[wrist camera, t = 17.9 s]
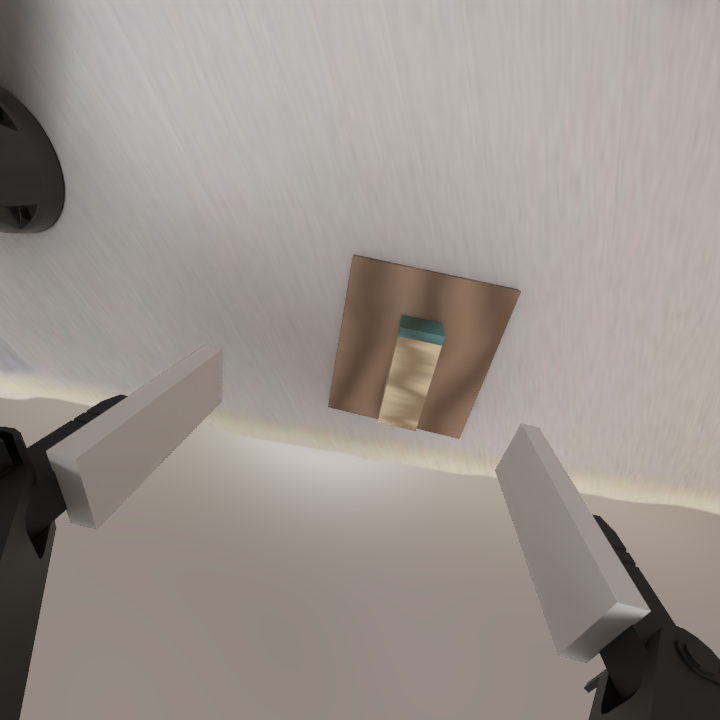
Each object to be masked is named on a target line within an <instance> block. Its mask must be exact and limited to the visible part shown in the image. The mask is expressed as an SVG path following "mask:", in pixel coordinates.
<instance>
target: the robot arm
mask: <svg viewBox="0 0 720 720" xmlns="http://www.w3.org/2000/svg"><path fill="white" fill-rule="evenodd" d="M63 197H64V189H63V180H62V174H61V170H60V167H59V163H58V160H57V158H56V155H55V153H54V150H53V148H52V146H51V144H50V142H49V140H48V138H47V136H46V135H45V133H44V131H43V130H42V128H41V127H40V125H39V124H38V122H37V121H36V120H35V118H34V117H33V116H32V115H31V113H30V112H29V111H28V110H27V109H26V108H25V107H24V106H23V105H22V104H21V103H20V102H19V101H18V100H17V99H16V98H15V97H14V96H13V95H11V94H10V93H9V92H8V91H6V90H5V89H3V88H2V87H0V232H4V233H34V232H40V231H43V230H45V229H47V228H49V227H50V226H52V225H53V224H54V223H55V221H56V220H57V218H58V217H59V215H60V212H61V209H62V205H63ZM221 401H222V349H220V348H216V347H212V346H208V345H204V346H203V347H201V348H200V349H198V350H197V351H195V352H194V353H192V354H191V355H189V356H188V357H186V358H185V359H183V360H182V361H180V362H179V363H177V364H176V365H174V366H173V367H171V368H170V369H168V370H167V371H165V372H164V373H162V374H161V375H159V376H158V377H156V378H155V379H153V380H152V381H150V382H149V383H147V384H146V385H144V386H143V387H141V388H140V389H138V390H137V391H135V392H134V393H132V394H131V395H129V396H125V395H118V396H115V397H112V398H110V399H107V400H104V401H102V402H100V403H98V404H97V405H95V406H94V407H92V408H90V409H89V410H87V412H86V413H82V414H81V415H79V416H78V417H76V418H75V419H74V421H70V422H68V423H67V424H65V425H63V426H62V427H60V428H58V429H57V430H55V431H54V432H52V433H51V434H49V435H48V436H46V437H44V438H42V439H41V440H39V441H38V442H36V443H34V444H33V445H31V446H30V447H28V448H26V445H25V443H24V440H23V437H22V435H21V433H20V432H19V431H17V430H16V429H15V428H8V427H0V720H19V718H20V713H21V708H22V703H23V698H24V692H25V687H26V682H27V677H28V672H29V666H30V661H31V656H32V651H33V645H34V640H35V635H36V630H37V625H38V619H39V614H40V608H41V603H42V598H43V593H44V588H45V583H46V578H47V572H48V567H49V562H50V557H51V552H52V546H53V541H54V536H55V530H56V525H55V519H56V518H57V517H58V516H59V515H60V514H62V513H63V512H64V511H65V510H67V513H68V515H69V518H70V521H71V523H73V524H77V525H80V526H84V527H88V528H92V529H95V530H97V529H98V528H99V527H100V526H101V525H102V524H103V523H104V522H105V521H106V520H107V519H108V518H109V517H110V516H111V515H112V514H113V513H114V512H115V510H116V509H117V508H118V507H119V506H120V505H121V504H122V503H123V502H124V501H125V500H126V499H127V498H128V497H129V496H130V495H131V494H132V493H133V492H134V491H135V490H136V489H137V488H138V487H139V486H140V485H141V484H142V483H143V482H144V481H145V480H146V479H147V478H148V476H150V475H151V473H152V472H153V471H154V470H155V469H156V468H157V467H158V466H159V465H160V464H161V463H162V462H163V461H164V460H165V459H166V458H167V457H168V456H169V455H170V454H171V453H172V452H173V451H174V450H175V449H176V448H177V447H178V446H179V445H180V444H181V443H182V442H183V440H185V438H186V437H187V436H188V435H189V434H190V433H191V432H192V431H193V430H194V429H195V428H196V427H197V426H198V425H199V424H200V423H201V422H202V421H203V420H204V419H205V418H206V417H207V416H208V415H209V414H210V413H211V412H212V411H213V410H214V409H215V408H216V407H217V406H218V405H219V404H220V402H221ZM495 471H496V474H497V477H498V480H499V483H500V486H501V489H502V492H503V495H504V498H505V500H506V503H507V506H508V509H509V512H510V515H511V518H512V521H513V524H514V527H515V530H516V533H517V536H518V539H519V542H520V544H521V547H522V550H523V553H524V556H525V559H526V562H527V565H528V568H529V571H530V574H531V577H532V579H533V583H534V585H535V589H536V591H537V594H538V597H539V600H540V603H541V606H542V609H543V612H544V614H545V618H546V621H547V624H548V627H549V629H550V633H551V635H552V638H553V641H554V644H555V647H556V650H557V653H558V655H559V656H562V657H566V658H570V659H574V660H577V661H581V662H585V663H587V662H589V661H590V660H591V659H592V658H593V657H595V656H596V655H597V654H599V653H600V655H601V657H602V659H603V661H604V664H605V666H606V668H607V669H605V670H604V671H603V672H601V673H600V674H599V675H597V676H596V677H595V678H593V679H592V680H591V681H589V682H588V683H587V685H586V686H585V687H584V689H586V690H587V691H588V692H590V691H592V690H593V689H594V688H597V689H596V693H595V697H594V701H593V705H592V709H591V713H590V717H589V720H720V659H719V658H718V657H717V656H716V655H715V654H714V652H713V651H712V650H711V649H710V648H709V647H707V646H706V645H705V644H704V643H703V642H702V641H701V640H699V639H698V638H697V637H696V636H694V635H693V634H691V633H689V632H688V631H686V630H685V629H683V628H680V627H678V626H676V625H675V623H674V622H673V620H672V619H671V617H670V616H669V614H668V613H667V611H666V610H665V608H664V607H663V605H662V604H661V602H660V600H659V599H658V597H657V596H656V594H655V593H654V591H653V590H652V588H651V587H650V585H649V584H648V582H647V580H646V579H645V577H644V576H643V574H642V573H641V571H640V570H639V568H638V567H636V566H635V562H634V560H633V559H632V557H631V556H630V554H629V553H627V552H626V548H625V546H624V545H623V543H622V542H621V540H620V539H619V537H618V536H617V534H616V532H614V531H613V529H611V528H610V527H609V525H608V524H607V523H606V522H605V521H604V520H603V519H602V518H601V517H600V516H596V515H592V514H591V512H590V510H589V509H588V507H587V505H586V504H585V502H584V501H583V499H582V497H581V496H580V494H579V492H578V491H577V489H576V487H575V486H574V484H573V482H572V481H571V479H570V478H569V476H568V474H567V473H566V471H565V469H564V468H563V466H562V464H561V463H560V461H559V460H558V458H557V456H556V455H555V453H554V451H553V450H552V448H551V446H550V445H549V443H548V441H547V440H546V438H545V437H544V435H543V433H542V432H541V430H540V428H537V427H533V426H529V425H525V424H521V425H520V427H519V428H518V430H517V432H516V434H515V435H514V437H513V439H512V441H511V443H510V444H509V446H508V448H507V450H506V452H505V453H504V455H503V457H502V459H501V460H500V462H499V464H498V466H497V468H496V469H495Z"/></svg>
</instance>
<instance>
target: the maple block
mask: <svg viewBox="0 0 720 720" xmlns="http://www.w3.org/2000/svg"><path fill="white" fill-rule="evenodd" d="M444 338H445V335H444V331H443V328H442V324H441V322H436V321H431V320H426V319H422V318H417V317H412V316H407V315H402V316H401V320H400V324H399V328H398V333H397V337H396V341H395V345H394V349H393V354H392V358H391V362H390V366H389V371H388V375H387V379H386V383H385V388H384V392H383V396H382V400H381V406H380V412H379V418H378V422H380V423H384V424H388V425H393V426H397V427H401V428H406V429H410V430H414V431H416V428H417V425H418V421H419V418H420V415H421V412H422V409H423V405H424V402H425V399H426V396H427V393H428V389H429V386H430V383H431V380H432V376H433V373H434V370H435V367H436V364H437V360H438V357H439V354H440V351H441V348H442V344H443V341H444Z"/></svg>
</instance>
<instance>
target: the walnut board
mask: <svg viewBox="0 0 720 720" xmlns="http://www.w3.org/2000/svg"><path fill="white" fill-rule="evenodd" d="M520 293H521V291H520V290H518V289H514V288H509V287H504V286H499V285H495V284H490V283H485V282H481V281H476V280H471V279H466V278H462V277H457V276H452V275H448V274H443V273H438V272H433V271H429V270H424V269H419V268H415V267H410V266H405V265H400V264H396V263H391V262H386V261H382V260H377V259H372V258H367V257H363V256H358V255H353V258H352V264H351V270H350V276H349V282H348V289H347V295H346V301H345V307H344V313H343V319H342V325H341V332H340V338H339V344H338V350H337V356H336V362H335V368H334V375H333V381H332V387H331V393H330V399H329V405H328V407H330V408H335V409H339V410H343V411H347V412H351V413H355V414H359V415H363V416H368V417H372V418H376V419H378V418H379V412H380V406H381V400H382V396H383V392H384V388H385V383H386V379H387V375H388V371H389V366H390V362H391V358H392V354H393V349H394V345H395V341H396V337H397V333H398V328H399V324H400V320H401V316H402V315H407V316H412V317H417V318H422V319H426V320H431V321H436V322H441V324H442V328H443V331H444V335H445V338H444V341H443V344H442V348H441V351H440V354H439V357H438V360H437V364H436V367H435V370H434V373H433V376H432V380H431V383H430V386H429V389H428V393H427V396H426V399H425V402H424V405H423V409H422V412H421V415H420V418H419V421H418V425H417V429H421V430H425V431H429V432H433V433H438V434H442V435H446V436H450V437H454V438H458V439H460V436H461V434H462V431H463V429H464V427H465V424H466V422H467V419H468V417H469V415H470V412H471V410H472V407H473V405H474V403H475V400H476V398H477V395H478V393H479V391H480V388H481V386H482V384H483V381H484V379H485V376H486V374H487V372H488V369H489V367H490V364H491V362H492V360H493V357H494V355H495V352H496V350H497V348H498V345H499V343H500V341H501V338H502V336H503V333H504V331H505V329H506V326H507V324H508V321H509V319H510V317H511V314H512V312H513V309H514V307H515V305H516V302H517V300H518V298H519V295H520Z"/></svg>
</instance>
